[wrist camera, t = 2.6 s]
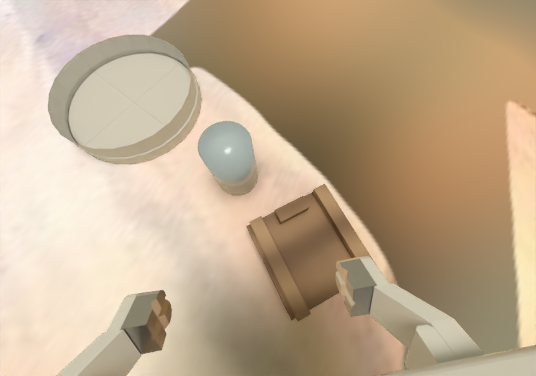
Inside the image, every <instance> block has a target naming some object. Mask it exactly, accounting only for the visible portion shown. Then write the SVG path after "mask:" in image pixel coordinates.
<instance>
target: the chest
mask: <svg viewBox="0 0 536 376" xmlns="http://www.w3.org/2000/svg"><path fill="white" fill-rule="evenodd" d="M247 228H248V231H249V233H250V235H251V237H252V239H253V241H254V243H255V245H256V247H257V249H258V251H259V253H260V256H261V258H262V260H263V262H264V264H265V266H266V268H267V270H268V272H269V274H270V276H271V279H272V281H273V283H274V285H275V287H276V289H277V291H278V293H279V295H280V297H281V299H282V301H283V304H284V306H285V308H286V310H287V312H288V314H289V316H290V318H291V320H293V319H295V318H296V319H297V321H299V320H301V319H303V318H304V317H306V316H308V315H309V314H310V312H309V310H310V309H312V308H314V307H315V306H317V305H319V304H320V303H322V302H324V301H325V300H327V299H329V298H331V297H332V296H334V295H336V294H337V293H339V290H338V287H337V284H336V272H337V271H338V270H337V268H336V262H337V261H340V260H345V259H351V258H358V257H363V256H369V257H371V256H370V255H369V253H368V251H367V250H366V248H365V247H364V245H363V243H362V242H361V240H360V239H359V237H358V236H357V234H356V232H355V231H354V229H353V228H352V226H351V224H350V223H349V221H348V220H347V218H346V217H345V215H344V213H343V212H342V210H341V209H340V207H339V205H338V204H337V202H336V201H335V199H334V198H333V196H332V194H331V193H330V191H329V190H328V188H327V186H326V185H325V184H323V185H321V186H319V187H318V188H316V189H314V190H313V192H312V193H311V194H309V195H307V196H305V197H303V196H302V197H300V198H298V199H296V200H294V201H292V202H290V203H288V204H286V205H284V206H282V207H280V208H278V209H276V210H275V212H273V213H272V214H270V215H268V216H266V217H264V218H262V217H261V216H260V217H258V218H257V219H255V220H253V221H251V222H250V225H248V226H247ZM371 259H372V258H371ZM372 260H373V259H372ZM373 262H374V261H373ZM374 263H375V262H374Z"/></svg>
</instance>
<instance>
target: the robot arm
mask: <svg viewBox="0 0 536 376" xmlns="http://www.w3.org/2000/svg"><path fill="white" fill-rule="evenodd" d="M336 268H337V270H338V271H337V272H336V284H337V287H338V290H339V292H340V294H341V295H342V296H344V297H345V300H344V303H345V305H346V308H347V310H348V312H349V314H350V316H351V317H352V316H359V315H365V314H369V315H370V316H371V317H372V318H374V319H375V320H376V321H377V322H378V323H379V324H380V325H382V326H383V327H384V328H385V329H386V330H387V331H389V332H390V333H391V334H392V335H393V336H394V337H396V338H397V339H398V340H399V341H400V342H401V343H403V344H404V345H405V346H406V347H407V348H408V349H409V351H408V354H407V357H406V360H405V363H404V364H405V366H406V368H407V370H402V371H396V372H391V373H386V374H381V375H375V376H536V345H533V346H528V347H523V348H518V349H513V350H507V351H502V352H496V353H492V354H486V355H485V354H484V353H483V352H482V351H481V349H480V348H479V347H478V346H477V345H476V344H475V343H474V341H473V340H472V339H471V338H470V337H469V336H468V335H467V333H466V332H465V331H464V330H463V329H462V328H461V327H460V325H459V324H458V323H457V322H456V321H455V320H454V319H453V318H451V317H450V316H448V315H446V314H445V313H443V312H441V311H440V310H438V309H436V308H434V307H433V306H430V305H429V304H427V303H426V302H424V301H422V300H420V299H419V298H417V297H415V296H414V295H412V294H410V293H408V292H407V291H405V290H403V289H402V288H400V287H398V286H396V285H395V284H393V283H392V284H389V282H388V281H387V280H386V278H385V277H384V276H383V274H382V273H381V271H380V270H379V269H378V267H377V266H376V264H375V263H374V262H373V260H372V259H371V257H369V256H363V257H358V258H351V259H345V260H340V261H337V262H336ZM165 296H166V294H165V292H164V291H163V290H160V291H152V292H145V293H139V294H132V295H128V296H126V297H125V298H124V300H123V302H122V304H121V306H120V308H119V310H118V311H117V313H116V315H115V317H114V319H113V321H112V323H111V325H110V327H109V328H108V330H107V332H105V333H102V334H101V335H100V336H99V337H98V338H97V339H96V340H95V341H94V342H92V343H91V344H90V345H89V346H88V347H87V348H86V349H85V350H84V351H83V352H81V353H80V354H79V355H78V356H77V357H76V358H75V359H74V360H73V361H72V362H71V363H69V364H68V365H67V366H66V367H65V368H64V369H63V370H62V371H61V372H60V373H58V374H57V375H56V376H126V375H127V374H128V373H129V371H130V370H131V369H132V367H133V366H134V365H135V363H136V362H137V361H138V360H139V358H140V357H141V354H145V353H150V352H155V351H159V350H162V347H163V344H164V340H165V337H166V332H165V328H166V327H167V326H168V324H169V323H170V319H171V312H172V309H171V304H170V302H169V301H168V300H166V299H165Z"/></svg>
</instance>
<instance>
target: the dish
mask: <svg viewBox="0 0 536 376" xmlns="http://www.w3.org/2000/svg"><path fill="white" fill-rule="evenodd" d="M200 107H201V94H200V89H199V86H198V83H197V81H196V78H195V76H194V75H193V73H192V71H191V70H190V67H189V65H188V63H187V61H186V60H185V58H184V56H183V55H182V53H181V52H180V51H179V50H178V49H177V48H175V47H174V46H173V45H172V44H170V43H168V42H166V41H164V40H161V39H159V38H156V37H151V36H146V35H123V36H118V37H113V38H109V39H106V40H104V41H101V42H99V43H96V44H93V45H92V46H90V47H88V48H87V49H85V50H83V51H82V52H80V53H78V54H77V55H76V56H75V57H74V58H73V59H71V60H70V61H69V62H68V63H67V64H66V65H65V66H64V67H63V69H62V70H61V71H60V73H59V74H58V76H57V77H56V78H55V80H54V83H53V85H52V88H51V90H50V93H49V101H48V111H49V114H50V118H51V121H52V124H53V125H54V126H55V128H56V129H57V130H58V131H59V133H60V134H61V135H62V136H64V137H65V138H67V139H68V140H70V141H72V142H73V143H75V144H76V145H77V146H78V147H80V148H81V149H83V150H84V151H86V152H88V153H89V154H91V155H93V156H94V157H96V158H98V159H99V160H103V161H106V162H110V163H114V164H136V163H140V162H145V161H149V160H152V159H154V158H157V157H159V156H161V155H163V154H165V153H167V152H169V151H170V150H171V149H173V148H174V147H175V146H177V145H178V144H179V143H180V142H182V141H183V140H184V139H185V137H186V136H187V135H188V133H189V132H190V131H191V130H192V128H193V127H194V125H195V123H196V120H197V118H198V116H199V114H200Z"/></svg>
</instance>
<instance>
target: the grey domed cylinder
mask: <svg viewBox="0 0 536 376" xmlns="http://www.w3.org/2000/svg"><path fill="white" fill-rule="evenodd" d="M198 152H199V155H200V157H201V159H202V160H203V162H204V163H205V164H206V166H207V167H208V169H209V170H210V172H211V173H212V175H213V176H214V177H215V179H216V180H217V182H218V183H219V185H220V186H221V187H222V189H223V190H224V191H225V192H227V193H228V194H231V195H244V194H246V193H248V192H250V191H251V190H252V189H253V188H254V186H255V185H256V183H257V178H258V175H257V168H256V163H255V157H254V151H253V145H252V139H251V136H250V134H249V132H248V131H247V130H246V128H244V127H243V126H242V125H240V124H238V123H235V122H231V121H223V122H218V123H215V124H213V125H211V126H210V127H208V128H207V129H206V130H205V131H204V132H203V133H202V135H201V137H200V139H199V142H198Z"/></svg>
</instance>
